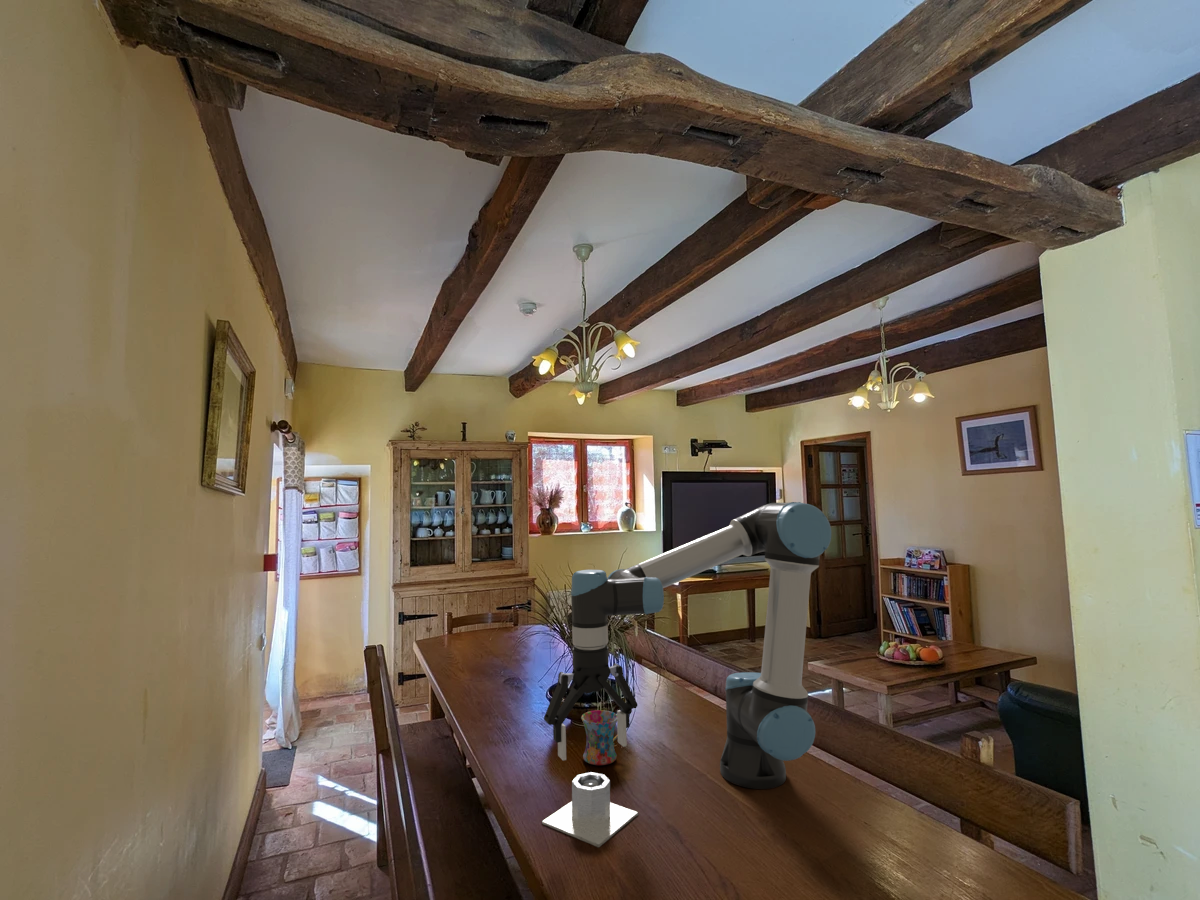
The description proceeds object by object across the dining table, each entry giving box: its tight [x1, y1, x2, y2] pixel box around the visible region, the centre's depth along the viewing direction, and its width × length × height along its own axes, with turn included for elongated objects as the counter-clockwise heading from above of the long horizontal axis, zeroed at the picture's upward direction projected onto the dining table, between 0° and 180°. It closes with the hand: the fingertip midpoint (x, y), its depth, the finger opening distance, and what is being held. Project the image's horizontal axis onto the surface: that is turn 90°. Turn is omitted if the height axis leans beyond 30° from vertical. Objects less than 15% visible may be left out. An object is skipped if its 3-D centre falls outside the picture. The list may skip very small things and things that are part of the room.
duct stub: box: [542, 780, 639, 848], centre depth 119 cm, size 14×14×7 cm
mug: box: [581, 709, 618, 766], centre depth 147 cm, size 12×9×11 cm
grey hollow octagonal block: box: [571, 771, 611, 827], centre depth 119 cm, size 7×7×7 cm
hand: (592, 750), depth 120 cm, fingers open, 13 cm apart
